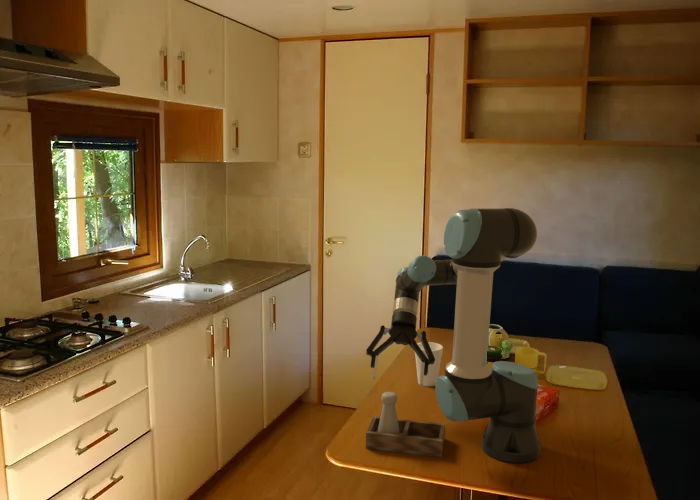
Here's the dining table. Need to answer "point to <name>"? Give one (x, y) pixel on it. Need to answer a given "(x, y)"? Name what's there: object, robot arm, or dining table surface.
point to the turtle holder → (498, 342)
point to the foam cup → (432, 368)
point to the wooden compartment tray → (408, 437)
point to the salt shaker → (388, 414)
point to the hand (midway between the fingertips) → (397, 382)
